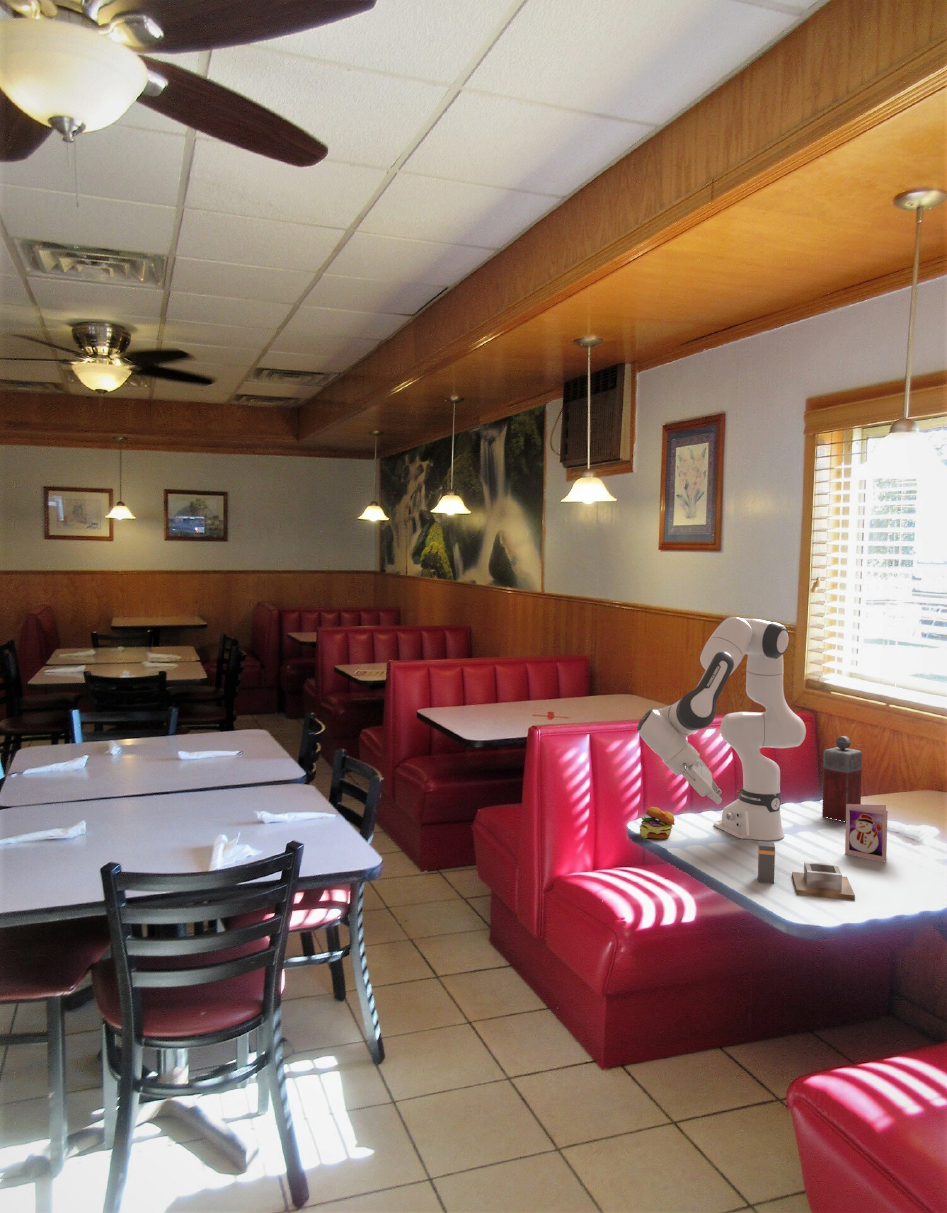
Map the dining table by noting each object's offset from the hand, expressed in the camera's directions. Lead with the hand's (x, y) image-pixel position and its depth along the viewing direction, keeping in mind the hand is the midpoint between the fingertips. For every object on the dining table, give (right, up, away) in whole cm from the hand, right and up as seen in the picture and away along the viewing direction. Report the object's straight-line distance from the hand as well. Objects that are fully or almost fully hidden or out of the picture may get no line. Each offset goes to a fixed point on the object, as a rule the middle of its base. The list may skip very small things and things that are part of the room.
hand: (720, 798), depth 239 cm
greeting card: (+49, -21, +19) cm, 57 cm away
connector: (+12, -22, -2) cm, 25 cm away
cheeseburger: (-10, -20, +37) cm, 44 cm away
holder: (+25, -22, -7) cm, 34 cm away
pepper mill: (+59, -20, +59) cm, 86 cm away
